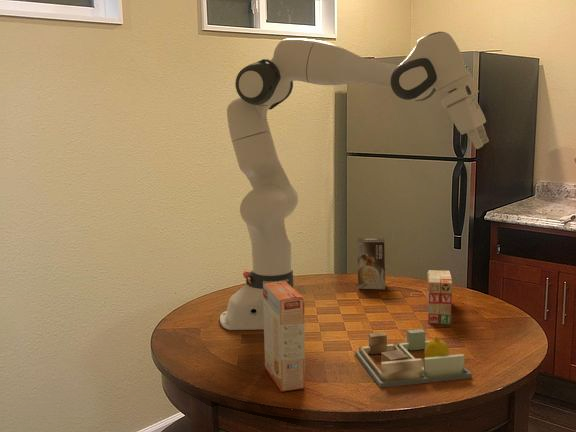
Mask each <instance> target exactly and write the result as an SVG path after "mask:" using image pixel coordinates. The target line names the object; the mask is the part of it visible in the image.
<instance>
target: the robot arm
mask: <svg viewBox="0 0 576 432" xmlns="http://www.w3.org/2000/svg"><path fill="white" fill-rule="evenodd" d="M294 81H295V82H296V81H297V82H304V83H308V84H313V85H318V86H319V85H320V86H343V85H352V84H365V85H372V86H376V87H381V88H385V89H387V88H388V89H390V90H392V92H393V93H394V94H395V96H397V97H398V98H399V99H402V100H404V101H415V102H422V101H426V100H428V99H430V98H431V97H432V96H433V95H434V94H435V93H437V95H438V97H439V100H440V101H439V102H440V104H441V106H442V108H443V109H446V111H447V113H448V115H449V117H450V119H451V121H452V123H453V124H454V125H455V127H456V130H457V131H458V132H459V133H460V134H461V135H464V134H466V135H467V137H468V139H469V140H470V141H471V143H472V144H473V147H474V148H475V150H478V149H480V148H482V147H483V146H484V145H485V144H487V143H488V142H489V138H488V136H487V132H486V129H485V126H484V124H486V122H487V120H486V116H485V114H484V112H483V110H482V108H481V106H480V105H479V102H478V100H477V98H476V96H475V95H477V94H478V93H479V92H480V91H479V89H478V87H477V84H476V82H475V80H474V78H473V76H472V74H471V72H470V71H469V70H468V69H467V67H466V65H465V61H464V57H463V54H462V53H461V50H460V49H459V47H458V45H457V43H456V41H455V39H454V38H453V37H452V35H451V34H450V33H448V32H446V31H437V32H436V31H435V32H432V33H429V34H426V35H424V36H422V37H420V38H419V39H418V40H417V41H416V44H415V46H414V48H413V49H412V50H411V52H410V53H409V55H407V57H406V58H405V59H404V60H403V61H402V62H400V64H393V63H388V62H382V61H378V60H372V59H368V58H365V57H364V56H363V57H362V56H361V55H359V54H356V53H354V52H352V51H350V50H348V49H346V48H344V47H341V46H339V45H336V44H334V43H330V42H327V41H323V40H318V39H317V40H316V39H313V38H312V39H310V38H309V39H308V38H299V37H298V38H284V39H282V40H280V41H279V42H278V43H277V44H276V47H275V48H274V51H273V55H272V58H271V59H268V58H263V59H260V60H258V61H256V62H252V63H250V64H248V65H246V66H244V67H243V68H242V69H240V71H239V72H238V74H237V75H236V78H235V83H234V84H235V89H236V93H237V94H238V96H239V97H237V98H235V99H233V100H232V101H231V102H230V103H229V104H228V105H227V108H226V117H227V125H228V129H229V135H230V140H231V142H232V143H231V144H232V146H233V150H234V153H235V156H236V160H237V164H238V168H239V170H240V171H241V172H242V173H243V174H244V175H245V177H246V178H247V180H248V182H249V184H250V185H251V188H252V190H250V191H248V193H246V195H245V196H244V198H243V199H241V203H240V206H239V213H240V216H241V218H242V221H244V223H245V224H246V226H247V230H248V234H249V238H250V243H251V254H252V255H251V257H252V260H251V261H252V270H251V271H249V270H246V269H245V270H244V271H243V272H242V275H243V278H245V285H244V286H242V288H239V290H238V291H236V292H235V293H234V294H232V295H231V296H230V298H229V300H228V304H227V308H226V310H225V311H223V312H221V314H220V315H219V322H220V323H219V324H220V326H221V327H222V328H223V329H225V330H228V331H248V330H249V331H250V330H251V331H252V330H255V331H256V330H257V331H258V330H264V304H263V284H264V283H272V282H280V281H286V282H287V283H288V284H289V285H290V286H291V287H292V288H294V286H295V279H294V278H295V277H294V275H295V274H294V270H293V269H292V243H291V241H290V240H289V238H288V234H287V230H286V225H285V219H286V218H288V217H289V216H291V215H292V213H294V211H295V209H296V208H297V205H298V202H299V194H298V192H297V190H296V189H295V187H294V186H293V185H292V184H291V183H290V179H289V178H288V176H287V173H286V171H285V170H284V167H283V166H282V163H281V161H280V160H279V156H278V153H277V150H276V146H275V143H274V140H273V136H272V132H271V129H270V126H269V123H268V116H267V115H268V111H269V110H273V109H274V108H276V107H277V106H279V105H280V104H281V103H283V102H284V101H286V100H287V99H288V98H289V97H290V95H291V93H292V91H293V89H294Z"/></svg>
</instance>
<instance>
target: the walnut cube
mask: <svg viewBox="0 0 576 432" xmlns="http://www.w3.org/2000/svg"><path fill="white" fill-rule="evenodd" d="M408 358H409V357H408V356H407V355H405V354H404V353H402V352H401V351H400V350H393V351H388V352H382V353H380V363H381V362H388V361H398V360H408Z"/></svg>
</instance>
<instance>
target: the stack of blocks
mask: <svg viewBox="0 0 576 432" xmlns="http://www.w3.org/2000/svg"><path fill="white" fill-rule="evenodd" d="M426 273H427V274H426V275H427V277H426V278H427V280H426V281H427V282H426V283H427V314H428V315H427V324H429V325H431V324H433V325H451V323H452V304H453V301H452V300H453V299H452V298H453V293H452V292H453V279H452V274H451V272H450V270H436V269H435V270H432V269H429V270H428V271H427V272H426Z"/></svg>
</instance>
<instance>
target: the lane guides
mask: <svg viewBox="0 0 576 432" xmlns="http://www.w3.org/2000/svg"><path fill="white" fill-rule="evenodd" d="M354 352H355V356H356V357H357V359H358V360H359V362H361V365H363V367H364V368H365V370H366V371H367V373H368V374H370V377H371V378H372V379H373V380H374V382H375V383H376V384H377V386H378V387H379V388H391V387H400V386H408V385H409V386H410V385H417V384H418V385H419V384H427V383H429V384H430V383H438V382H444V381H445V382H447V381H455V380H457V381H458V380H465V379H473V373H472V372H471V371H469V370H468V369H467V368H466V367H465V366H464V373H462V374H453V375H443V376H434V377H422V378H415V379H405V380H396V381H386V382H381V380H380V379H379V378H378V376H377V375H376V374H375V372H374V371H373V370H372V369H371V367H370V366H369V365H368V363H367V362H366V361H365V359H364V358H363V357H362V356H361V354H360V353H359V350H355V351H354ZM449 355H451V354H450V353H449Z"/></svg>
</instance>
